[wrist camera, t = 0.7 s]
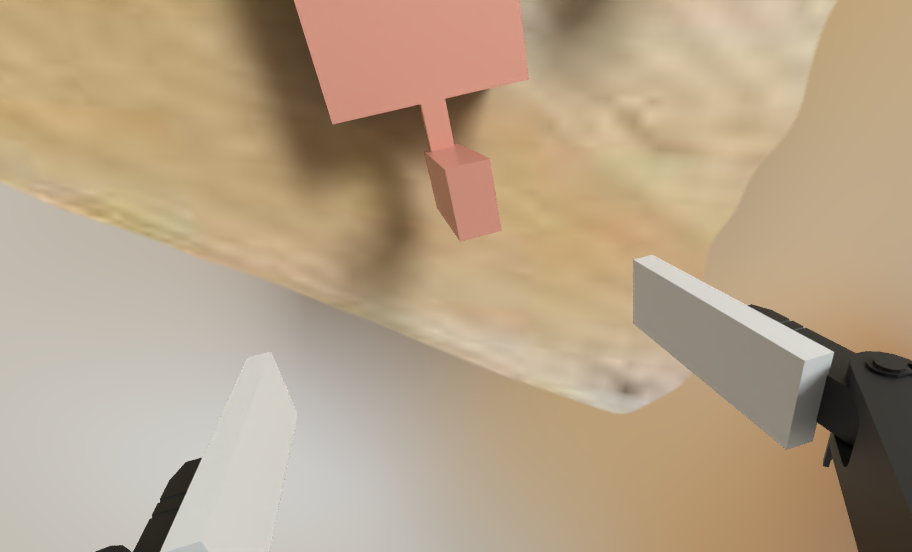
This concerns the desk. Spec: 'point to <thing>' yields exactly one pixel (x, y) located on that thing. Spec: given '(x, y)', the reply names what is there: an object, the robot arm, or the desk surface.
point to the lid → (421, 79)
